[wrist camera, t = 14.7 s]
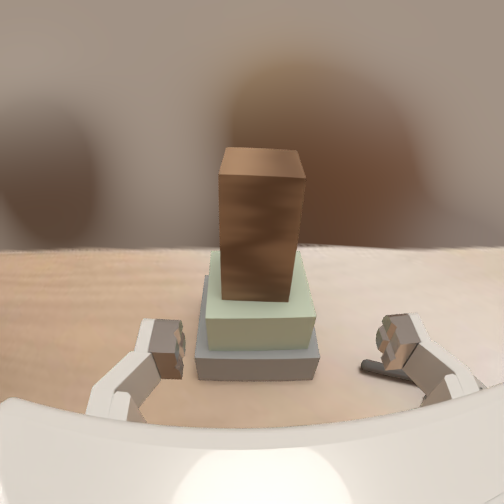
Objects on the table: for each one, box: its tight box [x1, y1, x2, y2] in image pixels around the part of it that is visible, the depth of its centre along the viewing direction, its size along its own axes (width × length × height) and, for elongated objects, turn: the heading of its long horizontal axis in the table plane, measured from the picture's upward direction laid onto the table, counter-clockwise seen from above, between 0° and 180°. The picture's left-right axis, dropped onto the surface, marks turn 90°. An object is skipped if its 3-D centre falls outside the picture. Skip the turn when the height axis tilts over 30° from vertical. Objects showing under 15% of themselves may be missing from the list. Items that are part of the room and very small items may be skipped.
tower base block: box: [195, 275, 320, 381], centre depth 30 cm, size 10×10×4 cm
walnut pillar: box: [219, 147, 306, 302], centre depth 23 cm, size 5×5×10 cm
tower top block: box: [205, 251, 316, 351], centre depth 27 cm, size 8×8×4 cm
